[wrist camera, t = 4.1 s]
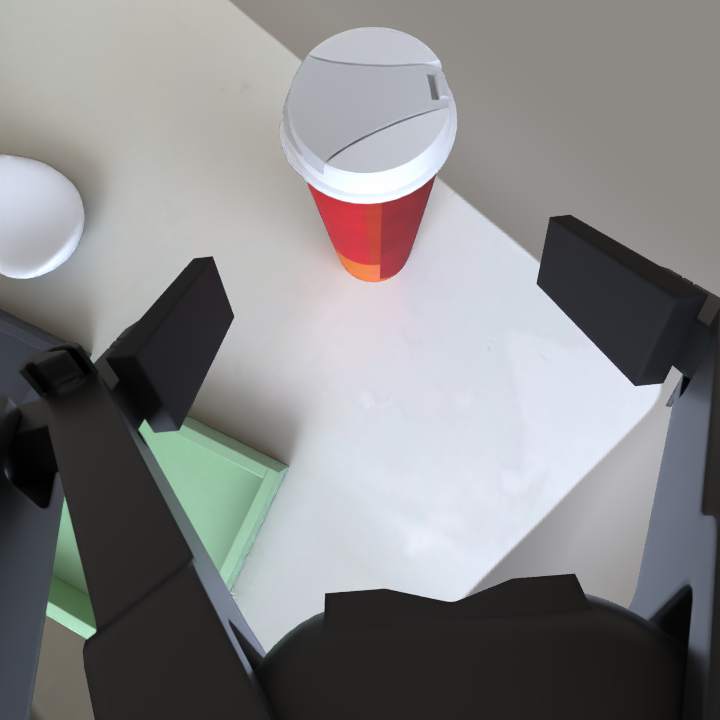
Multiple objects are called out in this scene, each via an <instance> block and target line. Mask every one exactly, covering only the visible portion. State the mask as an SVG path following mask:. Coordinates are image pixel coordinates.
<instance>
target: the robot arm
mask: <svg viewBox="0 0 720 720" xmlns="http://www.w3.org/2000/svg"><path fill="white" fill-rule="evenodd" d="M537 285H538V286H539V287H540V288H541V289H542V290H543V291H544V292H545V293H546V294H547V295H548V296H549V297H550V298H551V299H552V300H553V301H554V302H555V303H556V304H557V305H558V306H559V308H560V309H561V310H562V311H563V312H564V313H565V314H566V315H567V316H568V317H569V318H570V319H571V320H572V321H573V322H574V323H575V324H576V325H577V326H578V327H579V328H580V329H581V330H582V331H583V332H584V333H585V335H586V336H587V337H588V338H589V339H590V340H591V341H592V342H593V343H594V344H595V345H596V346H597V347H598V348H599V349H600V350H601V351H602V352H603V353H604V354H605V355H606V356H607V357H608V358H609V359H610V360H611V361H612V363H613V364H614V365H615V366H616V367H617V368H618V369H619V370H620V371H621V372H622V373H623V374H624V375H625V376H626V377H627V378H628V379H629V380H630V381H631V382H632V383H633V384H634V385H635V386H640V385H651V384H661V383H664V381H665V379H666V377H667V375H668V373H669V371H670V369H671V367H672V365H673V366H674V367H675V368H677V369H678V370H679V371H680V372H681V373H682V374H683V375H682V377H681V379H680V381H679V382H678V384H677V386H676V388H675V390H674V391H673V393H672V395H671V397H670V399H669V400H668V403H667V404H666V406H668V407H671V406H672V405H673V407H672V412H671V417H670V422H669V427H668V432H667V437H666V443H665V447H664V452H663V457H662V462H661V467H660V473H659V478H658V482H657V488H656V493H655V498H654V503H653V508H652V513H651V518H650V523H649V528H648V533H647V538H646V543H645V548H644V554H643V558H642V563H641V568H640V573H639V579H638V583H637V588H636V592H635V594H634V598H633V600H632V602H631V604H630V606H629V609H626V608H624V607H622V606H619V605H617V604H615V603H613V602H610V601H608V600H605V599H602V598H599V597H596V596H592V595H589V594H585V593H584V592H583V590H582V588H581V586H580V583H579V582H578V579H577V577H576V575H575V574H566V575H553V576H540V577H527V578H515V579H511V580H508V581H506V582H503V583H501V584H499V585H496V586H493V587H491V588H488V589H486V590H483V591H481V592H478V593H476V594H474V595H471V596H468V597H466V598H464V599H461V600H458V601H455V602H446V601H441V600H436V599H431V598H427V597H422V596H417V595H412V594H408V593H403V592H398V591H393V590H389V589H375V590H363V591H350V592H337V593H325V611H324V612H322V613H320V614H317V615H315V616H313V617H311V618H310V619H308V620H306V621H304V622H303V623H301V624H299V625H298V626H297V627H295V628H294V629H293V630H291V631H290V632H289V633H287V634H286V635H285V636H284V637H283V638H282V639H281V640H280V641H279V642H278V643H277V644H275V645H274V646H273V648H272V649H271V650H270V651H269V652H268V653H267V654H266V653H265V651H264V649H263V648H262V646H261V644H260V643H259V641H258V640H257V638H256V636H255V635H254V633H253V632H252V630H251V629H250V627H249V626H248V624H247V622H246V621H245V619H244V617H243V615H242V614H241V612H240V610H239V608H238V606H237V604H236V603H235V601H234V599H233V597H232V595H231V594H230V592H229V590H228V588H227V586H226V585H225V583H224V581H223V579H222V577H221V576H220V574H219V572H218V570H217V568H216V567H215V565H214V563H213V561H212V559H211V558H210V556H209V554H208V552H207V550H206V548H205V547H204V545H203V543H202V541H201V539H200V538H199V536H198V534H197V532H196V530H195V529H194V527H193V525H192V523H191V521H190V520H189V518H188V516H187V514H186V512H185V511H184V509H183V507H182V505H181V503H180V501H179V500H178V498H177V496H176V494H175V492H174V491H173V489H172V487H171V485H170V483H169V482H168V480H167V478H166V476H165V474H164V473H163V471H162V469H161V467H160V465H159V464H158V462H157V460H156V458H155V456H154V455H153V453H152V451H151V449H150V447H149V445H148V444H147V442H146V440H145V438H144V437H143V435H142V434H141V432H140V431H139V428H140V426H141V425H142V423H143V421H144V420H146V421H147V423H148V424H149V426H150V427H151V429H152V431H153V432H154V433H160V432H170V431H179V430H180V428H181V426H182V424H183V422H184V420H185V418H186V416H187V414H188V412H189V410H190V408H191V406H192V404H193V401H194V399H195V397H196V395H197V393H198V391H199V389H200V387H201V385H202V383H203V381H204V379H205V377H206V375H207V372H208V370H209V368H210V366H211V364H212V362H213V360H214V358H215V356H216V354H217V352H218V350H219V348H220V346H221V343H222V341H223V339H224V337H225V335H226V333H227V331H228V329H229V327H230V325H231V323H232V321H233V319H234V314H233V312H232V309H231V306H230V303H229V301H228V298H227V295H226V292H225V289H224V287H223V284H222V281H221V278H220V276H219V273H218V270H217V267H216V264H215V262H214V259H213V256H212V257H203V258H195V259H193V260H192V261H191V262H190V263H189V264H188V266H187V267H186V268H185V269H184V270H183V271H182V272H181V274H180V275H179V276H178V277H177V278H176V279H175V280H174V282H173V283H172V284H171V285H170V286H169V287H168V288H167V289H166V291H165V292H164V293H163V294H162V295H161V296H160V297H159V299H158V300H157V301H156V302H155V303H154V304H153V305H152V306H151V308H150V309H149V310H148V311H147V312H146V313H145V314H144V316H143V317H142V318H141V319H140V320H139V321H137V322H136V323H134V324H133V325H131V326H130V327H128V328H127V329H125V330H124V331H123V332H122V333H121V335H120V336H119V337H118V338H117V341H114V342H113V343H112V344H111V346H110V349H107V350H106V351H105V352H104V353H103V354H102V356H101V357H100V358H99V359H98V360H97V361H96V362H95V363H94V364H93V363H92V361H91V360H90V358H89V357H88V355H87V354H86V353H85V351H84V350H83V348H82V347H81V346H80V345H79V344H77V343H65V344H59V345H56V346H53V347H50V348H47V349H45V350H43V351H40V352H38V353H36V354H35V355H33V356H32V357H30V358H28V359H27V360H26V361H25V362H24V363H23V364H22V365H21V366H20V369H19V372H20V374H21V375H22V376H23V377H24V378H25V379H26V381H27V382H28V383H29V384H30V385H31V386H32V388H33V389H34V390H35V391H36V392H37V393H38V395H39V396H40V397H41V399H39V400H36V401H33V402H29V403H26V404H22V405H19V406H16V405H15V403H14V402H13V401H12V400H11V399H10V398H9V397H8V396H7V395H5V394H3V393H2V394H0V720H29V717H30V711H31V705H32V698H33V692H34V686H35V679H36V673H37V667H38V660H39V654H40V648H41V642H42V635H43V629H44V623H45V616H46V610H47V604H48V597H49V591H50V585H51V578H52V572H53V566H54V559H55V553H56V547H57V540H58V534H59V528H60V521H61V515H62V509H63V502H64V496H65V498H66V503H67V507H68V511H69V515H70V519H71V523H72V527H73V531H74V535H75V539H76V543H77V548H78V552H79V556H80V560H81V564H82V568H83V572H84V576H85V580H86V584H87V588H88V592H89V597H90V601H91V605H92V609H93V613H94V617H95V621H96V633H95V634H93V635H92V636H91V637H89V638H88V639H87V640H86V641H85V644H84V648H83V659H84V668H85V673H86V678H87V683H88V688H89V693H90V698H91V703H92V708H93V712H94V717H95V720H720V298H719V297H718V296H716V295H714V294H712V293H710V292H709V291H707V290H705V289H703V288H702V287H700V286H698V285H696V284H693V282H691V281H689V280H688V279H686V278H682V276H681V275H679V274H677V273H675V272H673V271H672V270H670V269H668V268H664V267H661V266H658V265H657V264H655V263H653V262H652V261H650V260H648V259H646V258H645V257H643V256H641V255H639V254H638V253H636V252H634V251H632V250H631V249H629V248H627V247H625V246H624V245H622V244H620V243H618V242H617V241H615V240H613V239H612V238H610V237H608V236H606V235H605V234H603V233H601V232H599V231H597V230H596V229H594V228H592V227H591V226H589V225H587V224H585V223H584V222H582V221H580V220H578V219H577V218H575V217H573V216H572V215H565V216H556V217H550V219H549V224H548V229H547V234H546V239H545V244H544V249H543V254H542V259H541V264H540V269H539V274H538V279H537Z"/></svg>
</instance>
